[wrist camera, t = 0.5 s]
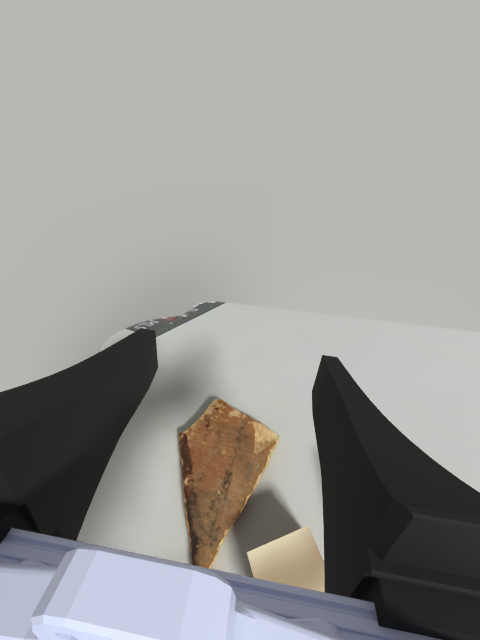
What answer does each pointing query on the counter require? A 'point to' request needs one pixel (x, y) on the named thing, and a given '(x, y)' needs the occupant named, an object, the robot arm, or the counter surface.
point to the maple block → (290, 561)
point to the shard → (220, 473)
